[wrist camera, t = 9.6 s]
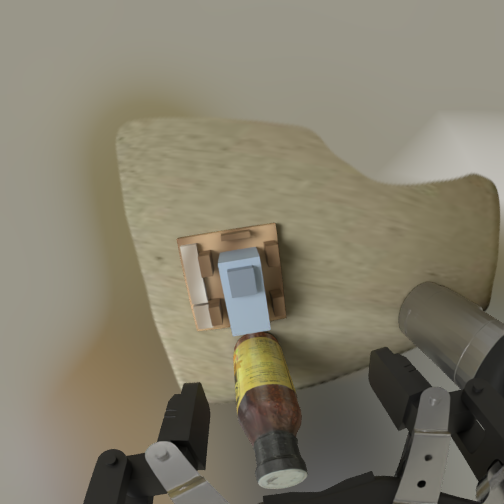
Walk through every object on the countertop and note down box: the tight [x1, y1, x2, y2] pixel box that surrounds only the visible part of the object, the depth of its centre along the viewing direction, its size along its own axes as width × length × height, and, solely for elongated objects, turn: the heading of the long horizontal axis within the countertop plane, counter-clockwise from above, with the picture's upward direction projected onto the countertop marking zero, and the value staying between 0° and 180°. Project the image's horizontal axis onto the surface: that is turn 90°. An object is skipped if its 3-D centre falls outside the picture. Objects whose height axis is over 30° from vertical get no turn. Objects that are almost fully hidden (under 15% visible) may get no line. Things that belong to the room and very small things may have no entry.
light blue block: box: [218, 247, 271, 336], centre depth 28 cm, size 4×8×6 cm, turn 9°
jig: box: [177, 223, 286, 331], centre depth 30 cm, size 11×12×4 cm
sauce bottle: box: [233, 332, 308, 489], centre depth 25 cm, size 6×6×20 cm
